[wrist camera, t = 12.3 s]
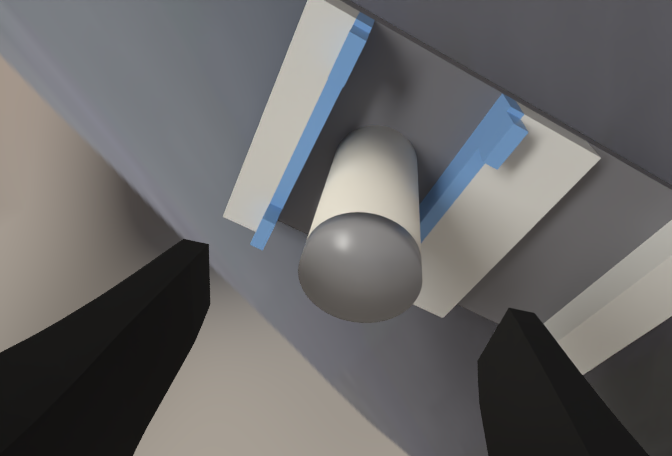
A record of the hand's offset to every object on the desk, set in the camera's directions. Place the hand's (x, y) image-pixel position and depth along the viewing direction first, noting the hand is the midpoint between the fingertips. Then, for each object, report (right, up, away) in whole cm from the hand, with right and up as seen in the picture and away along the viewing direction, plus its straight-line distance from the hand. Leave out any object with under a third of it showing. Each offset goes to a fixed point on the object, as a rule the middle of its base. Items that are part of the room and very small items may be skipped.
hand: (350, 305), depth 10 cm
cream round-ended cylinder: (+1, +5, +8) cm, 9 cm away
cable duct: (+6, +3, +10) cm, 12 cm away
